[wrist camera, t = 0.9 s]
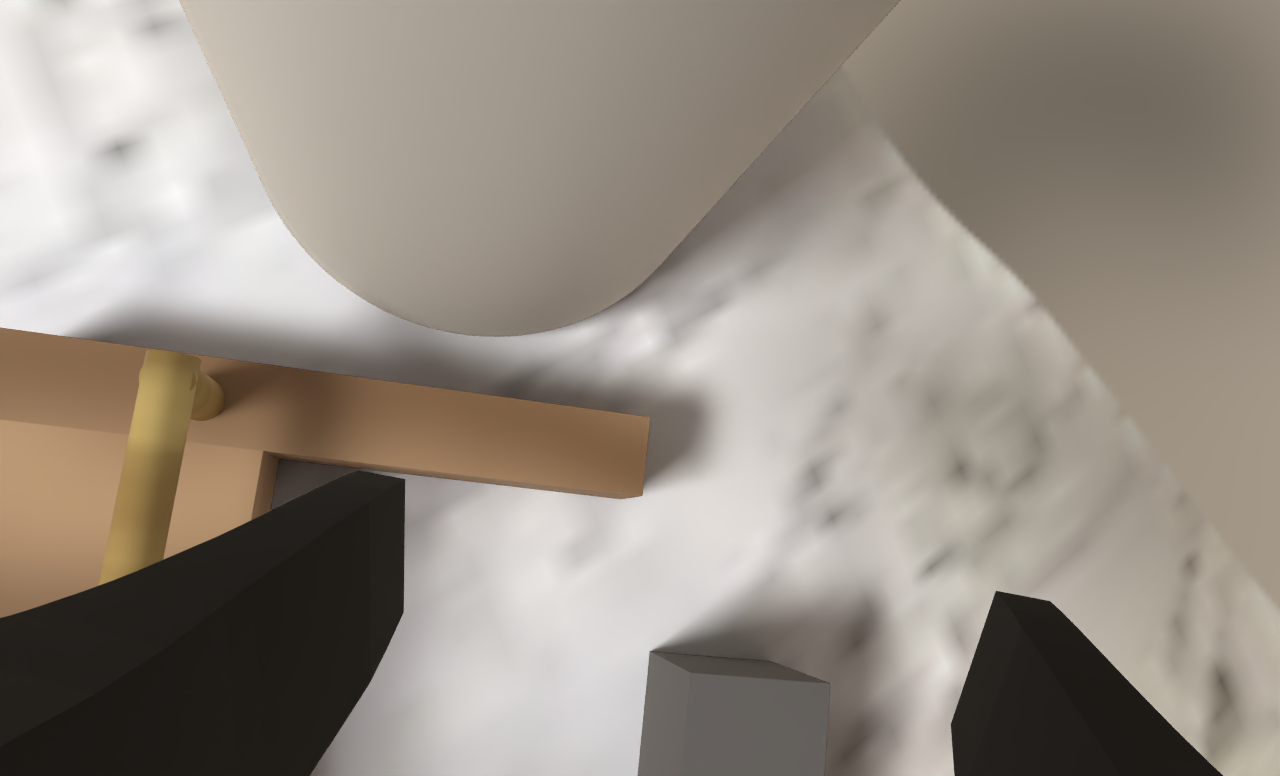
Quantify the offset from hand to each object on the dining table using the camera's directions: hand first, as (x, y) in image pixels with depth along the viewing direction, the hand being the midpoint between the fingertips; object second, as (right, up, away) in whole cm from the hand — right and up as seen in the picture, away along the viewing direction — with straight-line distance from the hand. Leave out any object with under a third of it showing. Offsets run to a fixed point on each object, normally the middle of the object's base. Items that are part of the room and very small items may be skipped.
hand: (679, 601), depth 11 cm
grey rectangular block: (+1, -8, +14) cm, 16 cm away
